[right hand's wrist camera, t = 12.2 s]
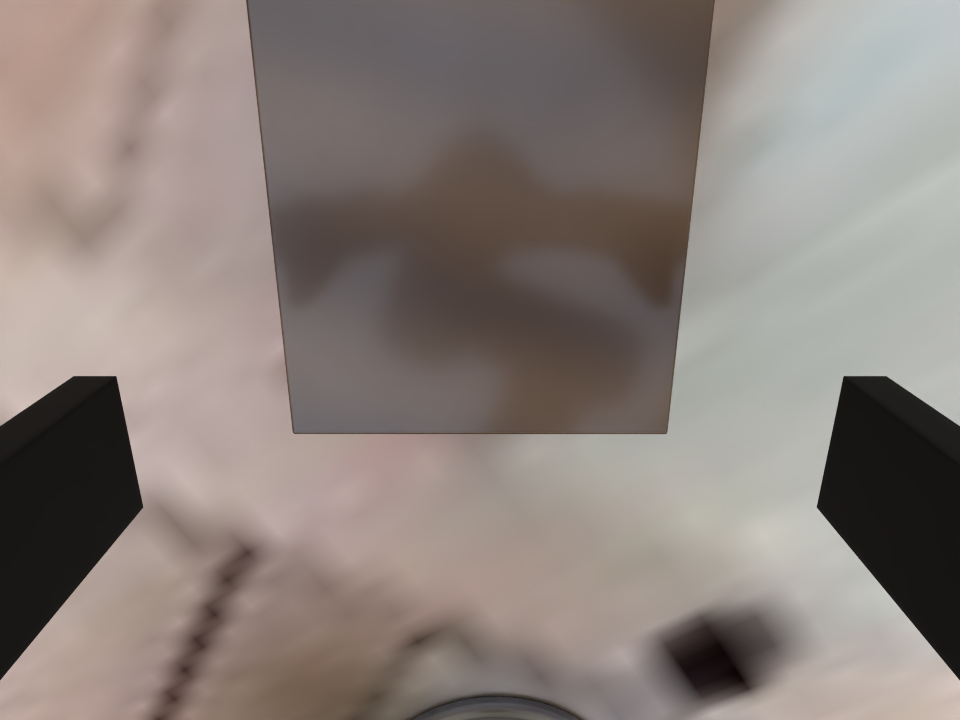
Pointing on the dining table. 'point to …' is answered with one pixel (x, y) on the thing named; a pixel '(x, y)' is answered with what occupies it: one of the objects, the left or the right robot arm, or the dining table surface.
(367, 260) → the large taupe box
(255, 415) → the dining table surface
